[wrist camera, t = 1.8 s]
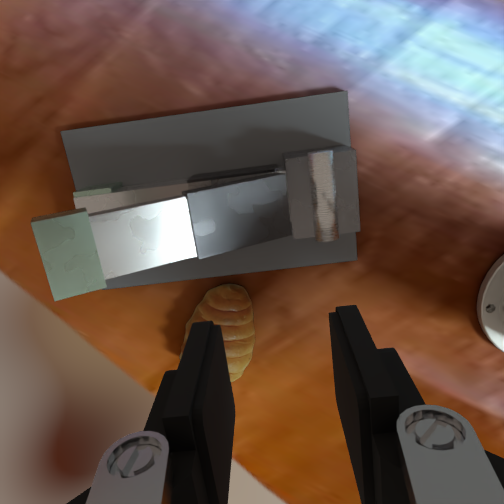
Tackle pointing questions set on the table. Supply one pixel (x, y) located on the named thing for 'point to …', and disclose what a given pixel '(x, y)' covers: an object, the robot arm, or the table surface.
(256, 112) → the slate mat
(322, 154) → the stand
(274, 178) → the bar
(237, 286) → the pastry
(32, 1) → the table surface
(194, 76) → the table surface
